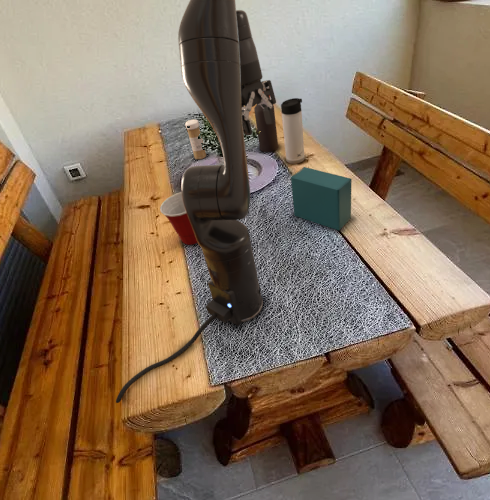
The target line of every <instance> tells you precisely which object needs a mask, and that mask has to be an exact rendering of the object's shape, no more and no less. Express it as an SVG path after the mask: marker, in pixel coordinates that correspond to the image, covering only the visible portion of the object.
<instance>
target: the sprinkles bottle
mask: <svg viewBox="0 0 490 500" xmlns="http://www.w3.org/2000/svg"><path fill="white" fill-rule="evenodd" d="M184 124H185V129H186V130H187V134H188V139H189V141H190V146H191V149H192V152H193V157H194V159H195V160H203V159H204V158H206V157H207V153H206V149H205V150H203V149H202V144H201V143H203V144H204V140H203V137H202V138H201V139H198V136H199V134H200V133H201V130H200V122H199V120H198V119H189V120H187V121H186V122H185V123H184ZM187 126H190V128H187Z"/></svg>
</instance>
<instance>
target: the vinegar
mask: <svg viewBox="0 0 490 500" xmlns="http://www.w3.org/2000/svg"><path fill="white" fill-rule="evenodd" d="M269 98H270V99H271V97H270V95H269ZM274 105H275V104H273V106H272V113H273V118H274V123H273V124H266V121H265V117H264V113H263V110H264V109H263V108H262V107H261V106H260V105H259V104H256V105H255V106H254V108H253V110H254V119H255V124H256V132H257V139H258V145H259V150H260V151H261V152H263V153H272V152H275V151H277V150H278V148H279V141H278V139H279V138H278V132H277V122H276V113H275V106H274ZM259 131H261V132H260V134H258V132H259Z"/></svg>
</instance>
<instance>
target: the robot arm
mask: <svg viewBox="0 0 490 500" xmlns="http://www.w3.org/2000/svg"><path fill="white" fill-rule="evenodd" d="M236 5H237V4H236V0H189V1H188V4H187V6H186V8H185V10H184V13H183V16H182V17H181V19H180V20H181V21H180V23H179V26H178V32H177V40H178V41H177V42H178V53H179V62H180V73H181V78H182V79H181V80H182V82H183V84H184V86H185V88H186V90H187V92H188V94H189V95H190V97H191V98H192V100H193V101H194V103H195V104H196V106H197V108H198V109H199V110H200V112H202V114H203V116H205V118H206V120H207V121H208V123H209V124H210V126H211V128H212V130H213V131H214V133H215V135H216V137H217V140H218V143H219V145H220V149H221V153H222V159H223V164H207V165H193V166H190V167H188V168H187V169H185V171H184V173H183V175H182V178H181V184H180V189H181V191H180V192H182V199H183V203H184V207H185V210H186V213H187V216H188V218H189V221H190V223H191V226H192V228H193V231H194V234H195V237H196V240H197V242H198V243H197V245H198V246H199V247H200V248H201V250H202V253H203V257H204V260H205V264H206V267H207V270H208V274H209V277H210V280H209V281H208V282H207V285H208V289H209V291H210V292H209V293H210V294H211V298H212V299H211V301H209V302H208V303H207V304H206V305H205V308H206V311H207V314H209V315H210V316H209V317H208V318H207V320H205V322H203V323H202V324H201V326H200V327H199V328H198V329H197V330H196V332H195V333H194V335H193V336H192V338H191V339H190V340H188V342H187V343H186V344H185V345H183V346H182V347H181V348H180V349H179V350H177V351H176V352H174V353H173V354H171V355H170V356H168V357H167V358H164V359H162V360H160V361H157V362H155V363H152V364H151V365H148V366H147V367H145V368H144V369H142V370H141V371H139V372H137V373H136V374H135V375H134V376H133V377H131V378H130V379H129V380H128V381H127V382H126V383H125V384H124V385H123V386H122V388H121V389H120V391H119V392H118V394H117V396H116V399H115V403H116V404H119V403H121V402H122V400H123V397H124V395H125V393H126V392H127V390H128V389H130V387H131V386H132V385H133V384H134V383H135V382H137V381H138V380H140V379H141V378H142V377H143V376H144V375H146V374H147V373H149V372H151V371H153V370H155V369H157V368H160V367H162V366H164V365H166V364H168V363H171V362H173V360H175V359H176V358H178V357H179V356H181V355H182V354H184V353H185V352H186V351H187V350H188V349H190V347H191V346H192V345H193V344H194V343H195V342H196V341H197V340H198V338H199V337H200V335H201V334H202V332H204V330H206V328H207V327H208V326H209V325H210V324H211V323H212V322H213V321H214V320H215V319H217V320H219V321H220V322H222V323H224V324H226V323H228V322H230V323H232V324H233V325H235V326H240V325H241V324H242V323H246V322H249V321H251V320H253V319H255V318H257V317H258V316H259V314H260V313H261V311H262V310H263V307H264V299H263V296H262V294H263V293H262V292H263V291H262V289H261V286H260V283H259V277H258V271H257V266H256V261H255V257H254V250H253V246H252V240H251V235H250V231H249V229H248V227H247V225H246V224H244V223H243V222H242V221H240V220H243V219H245V218H247V216H248V214H249V211H250V207H251V185H250V175H249V167H248V160H247V159H248V158H247V149H246V142H245V136H252V135H253V129H252V126H251V122H250V119H249V116H250V112H251V111H252V108H253V107H255V106H256V105H257V104H259V105H260V106H261V107H262V108H263V109H264V110H263V113H264V117H265V121H266V124H273V123H274V118H273V113H272V106H273V105H276V103H277V99H276V96H275V92H274V88H273V84H272V81H271V80H270V79H268V80H267V79H266V80H262V79H263V73H262V68H261V64H260V63H261V62H260V60H259V55H258V51H257V47H256V44H255V41H254V38H253V35H252V30H251V25H250V21H249V17H248V14H247V12H246V11H245V10H243V9H237V6H236ZM269 95H270V98H269Z"/></svg>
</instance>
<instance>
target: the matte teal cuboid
mask: <svg viewBox="0 0 490 500" xmlns="http://www.w3.org/2000/svg"><path fill="white" fill-rule="evenodd" d="M290 181H291V182H290V183H291V194H292V195H291V196H292V205H293V215H294V216H295V217H297V218H300V219H303V220H307V221H309V222H312V223H315V224H318V225H322V226H324V227H327V228H329V229H333V230H336V231H340V230H342V229H343V228H344V226H345V225H346V224H348V222H349V221H350V220H351V219H352V178H350V177H346V176H342V175H338V174H334V173H330V172H326V171H322V170H318V169H314V168H310V167H306V166H303V167H301V168H300V169H299V170H298V171H297V172H295V173H294V174H293V175H292V176H290Z"/></svg>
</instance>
